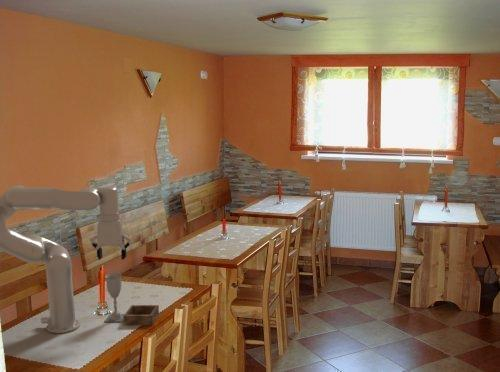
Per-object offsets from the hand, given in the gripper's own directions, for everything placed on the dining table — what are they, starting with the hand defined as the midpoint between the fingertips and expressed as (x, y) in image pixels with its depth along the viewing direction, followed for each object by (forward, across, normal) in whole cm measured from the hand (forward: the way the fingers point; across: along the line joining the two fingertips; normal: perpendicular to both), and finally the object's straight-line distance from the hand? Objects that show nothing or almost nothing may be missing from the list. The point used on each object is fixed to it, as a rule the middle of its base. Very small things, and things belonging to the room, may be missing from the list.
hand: (112, 258), depth 231 cm
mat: (+26, 0, 0) cm, 26 cm away
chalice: (+26, 0, 0) cm, 26 cm away
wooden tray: (+26, +11, -1) cm, 28 cm away
